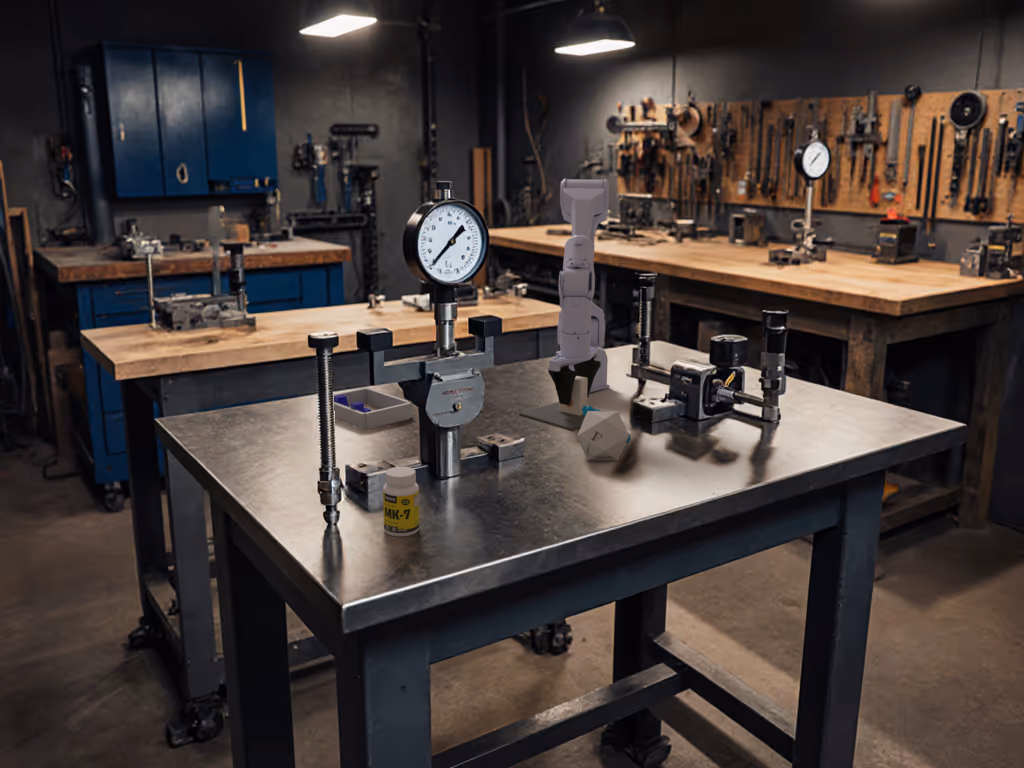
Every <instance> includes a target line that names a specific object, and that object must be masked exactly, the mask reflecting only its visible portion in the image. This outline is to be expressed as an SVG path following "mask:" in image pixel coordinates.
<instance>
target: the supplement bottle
mask: <svg viewBox="0 0 1024 768" xmlns="http://www.w3.org/2000/svg"><path fill="white" fill-rule="evenodd" d="M384 474H385V479H384V480H385V484H384V485H383V487H382V504H383V506H382V508H383V510H382V511H383V530H384V532H385V533H386V534H387V535H390V536H392V537H409V536H412V535H414V534H416V533H417V532H419V530H420V488H419V487H420V486H419V485H418V483H417V475H416V474H417V473H416V470H415V468H412V467H410V466H396V467H394V466H393V467H391V468H388V469H387V470H386V471H385V473H384Z"/></svg>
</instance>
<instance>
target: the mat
mask: <svg viewBox="0 0 1024 768" xmlns="http://www.w3.org/2000/svg"><path fill="white" fill-rule="evenodd" d="M588 406H589V405H587V407H588ZM593 408H594V407H593ZM594 409H595V410H596V409H597V408H594ZM600 410H601V411H603V410H602V409H600ZM518 414H519V416H522V417H526V418H529V419H532V420H536V421H539V422H541V423H545V424H549V425H552V426H555V427H558V428H561V429H565V430H569V431H571V432H572V431H573V432H574V431H576V430H580V428H581V426H582V423H583V420H584V418H585V416H584V415H580V416H579V415H575V414H570V413H565V412H561V411H559V401H558V402H554V403H550V404H546V405H543V406H539V407H535V408H532V409H527V410H524V411H520V412H519V413H518Z"/></svg>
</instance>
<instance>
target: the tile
mask: <svg viewBox="0 0 1024 768" xmlns="http://www.w3.org/2000/svg"><path fill="white" fill-rule="evenodd" d="M587 384H588V378H585V377H580V376H576V377H575V380H574V384H573V389H572V398H571V403H570V405H565V404H560V403H559V411H561V412H565V413H570V414H575V415H579V416H580V415H583V414H582V413H583V411H582V408H583V406H584V405H585V406H586V407H587V406H588V398H587Z"/></svg>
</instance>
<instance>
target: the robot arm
mask: <svg viewBox="0 0 1024 768" xmlns="http://www.w3.org/2000/svg"><path fill="white" fill-rule="evenodd" d="M562 179H563V180H562V181H560V190H559V191H560V192H559V205H560V210H561V216H562V217H563V218H562V219H563V221H566V222H568V223H569V224H571V237H569V238H568V239H567V240H566V241H565V243H564V252H563V253H564V255H563V262H562V263H563V265H562V270H560V271H559V275H558V295H559V307H560V310H559V311H560V312H559V314H558V321H557V337H556V338H557V344H558V345H559V348H560V350H558V351H556V352H555V356H554V357H553V358H551V359H549V360H548V368H547V370H548V374H549V376H550V378H551V379H552V381H553V384H554V388H555V389H556V394H557V399H558V402H559V403H560V404H565V405H570V403H571V398H572V389H573V384H574V380H575V377H576V376H580V377H585V378H588V384H587V399H588V398H589V397H590V393H593V392H597V391H602V390H605V389H608V388H610V387H611V385H610V384H607V383H608V360H609V359H608V355H607V352H606V351H605V349H604V348H603V346H604V344H605V334H606V333H605V331H606V330H605V329H606V328H605V326H606V323H605V322H606V321H605V313H604V310H603V309H602V308H601V307H599V306H598V305H597V304H596V303H594V301H593V298H594V295H595V288H596V287H595V284H596V283H595V279H596V275H595V267H594V265H595V263H594V260H595V239H596V238H595V235H596V232H597V229H598V225H599V224H601V223H603V222H605V221H607V217H608V215H609V205H610V203H609V200H610V181H608V179H607V178H604V179H576V178H575V179H572V178H571V179H568V178H562Z"/></svg>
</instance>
